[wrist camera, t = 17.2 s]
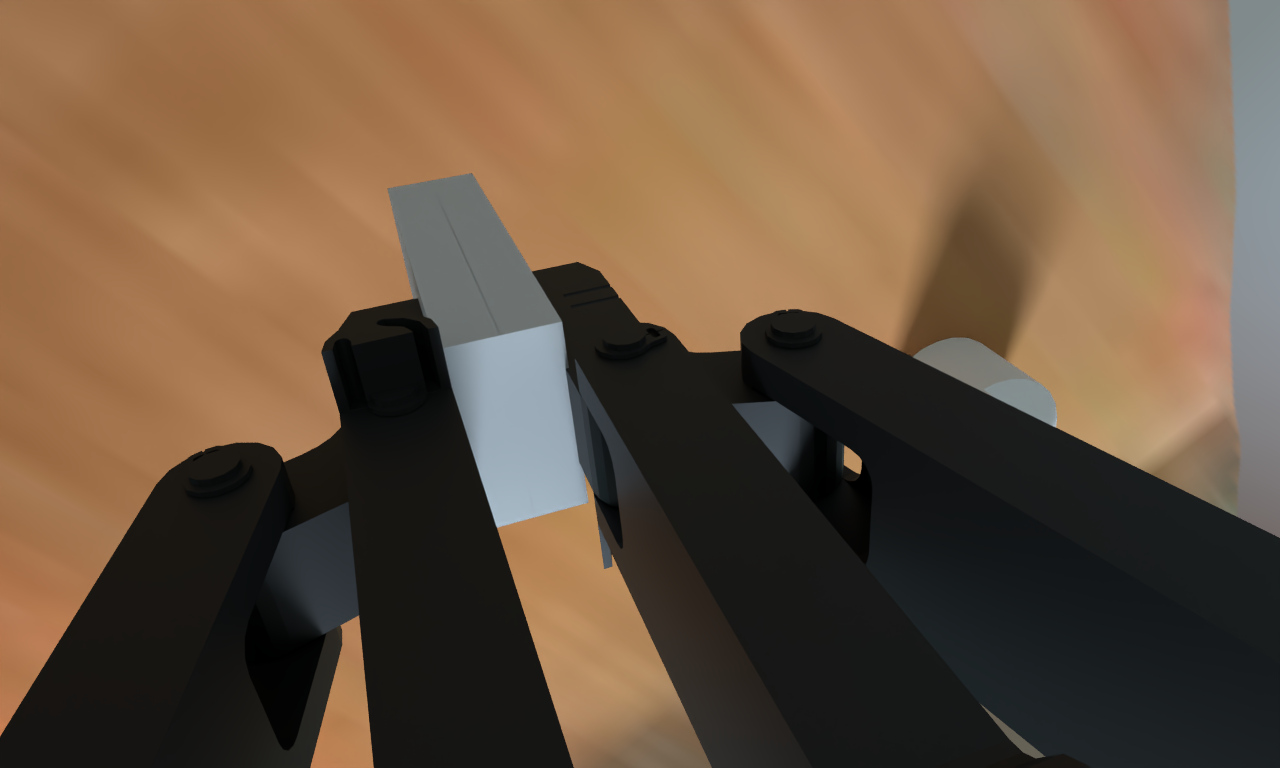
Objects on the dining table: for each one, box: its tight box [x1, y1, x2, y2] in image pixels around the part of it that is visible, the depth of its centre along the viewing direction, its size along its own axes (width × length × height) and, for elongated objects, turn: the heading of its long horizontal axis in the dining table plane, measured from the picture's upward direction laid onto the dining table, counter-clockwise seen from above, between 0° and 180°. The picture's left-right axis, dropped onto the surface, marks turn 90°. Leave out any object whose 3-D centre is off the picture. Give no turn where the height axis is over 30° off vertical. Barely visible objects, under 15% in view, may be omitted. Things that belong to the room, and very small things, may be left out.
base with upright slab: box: [913, 337, 1057, 427], centre depth 57 cm, size 9×9×12 cm
